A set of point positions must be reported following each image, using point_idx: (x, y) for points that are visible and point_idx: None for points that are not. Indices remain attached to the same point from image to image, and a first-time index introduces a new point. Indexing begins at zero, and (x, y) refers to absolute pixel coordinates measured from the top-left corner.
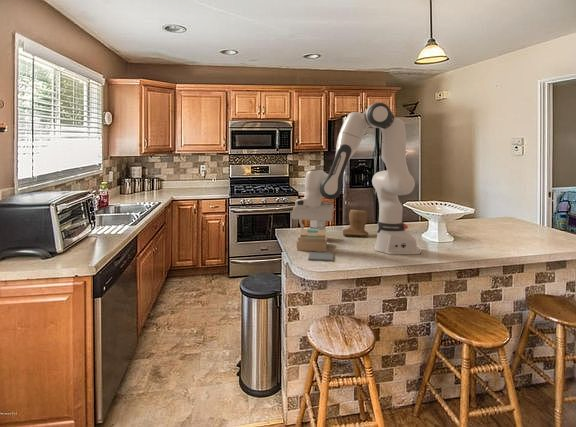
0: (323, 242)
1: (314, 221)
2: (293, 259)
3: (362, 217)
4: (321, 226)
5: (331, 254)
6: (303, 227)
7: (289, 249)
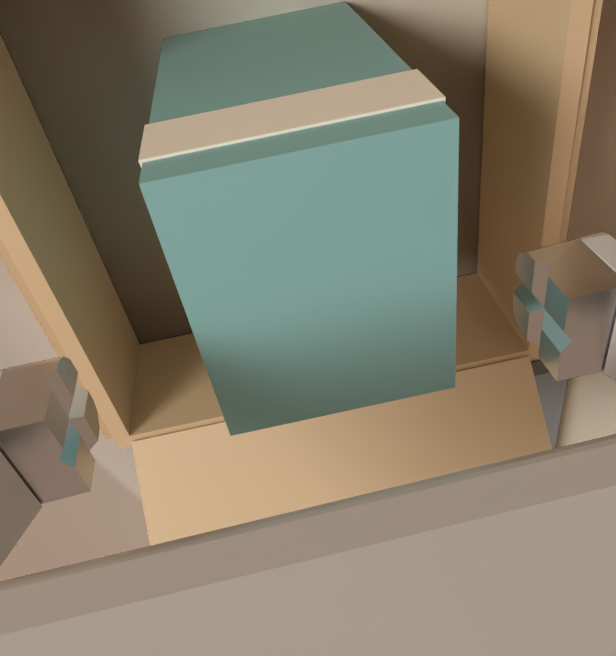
0: (504, 365)
1: None
2: None
3: None
4: (605, 365)
5: (546, 413)
6: (94, 440)
7: (19, 359)
